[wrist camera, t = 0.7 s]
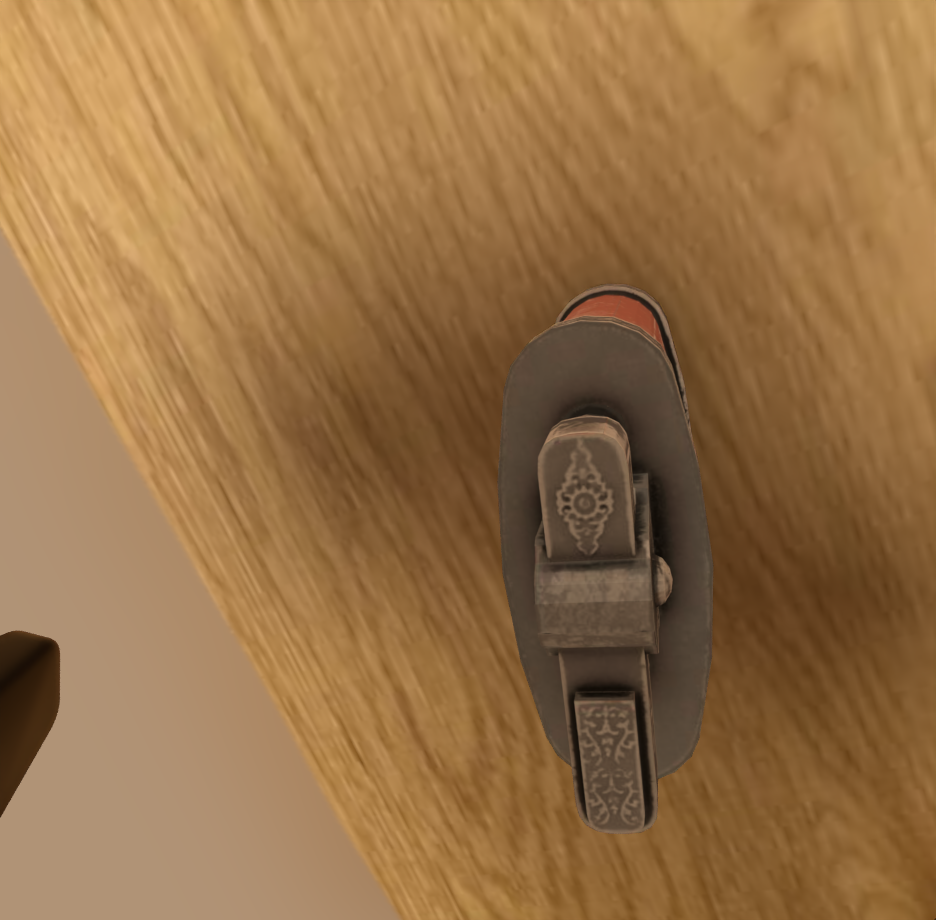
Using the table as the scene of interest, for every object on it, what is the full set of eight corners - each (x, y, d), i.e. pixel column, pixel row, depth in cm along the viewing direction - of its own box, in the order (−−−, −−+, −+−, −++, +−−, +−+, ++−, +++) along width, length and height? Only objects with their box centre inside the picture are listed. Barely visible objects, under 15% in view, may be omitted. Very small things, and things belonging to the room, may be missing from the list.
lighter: (535, 292, 20) (430, 358, 11) (681, 274, 19) (706, 329, 10) (569, 602, 22) (506, 888, 13) (703, 598, 21) (741, 900, 12)
